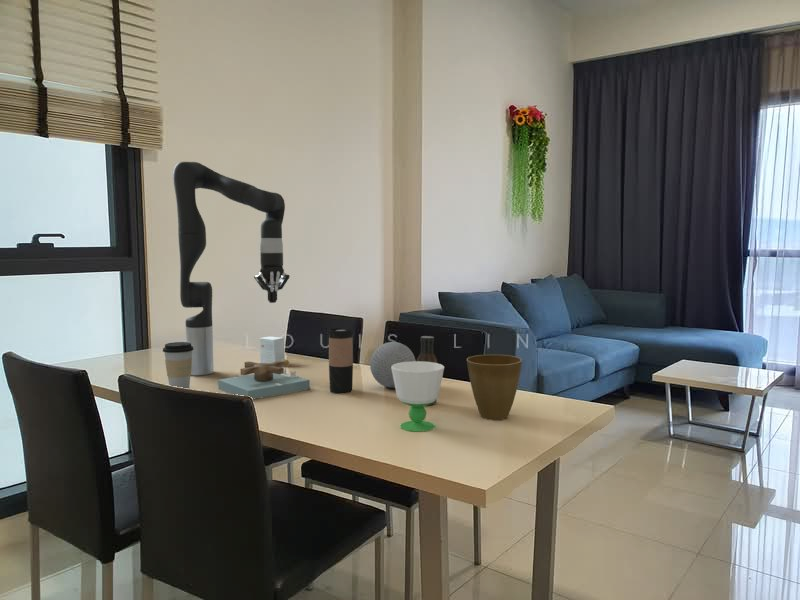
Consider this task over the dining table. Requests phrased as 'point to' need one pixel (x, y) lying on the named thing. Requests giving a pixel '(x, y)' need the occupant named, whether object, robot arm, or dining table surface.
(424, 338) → the sauce bottle
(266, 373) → the capstan
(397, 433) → the dining table surface
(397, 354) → the decorative ball
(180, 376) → the coffee cup
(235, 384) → the stand
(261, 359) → the small box
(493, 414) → the plant pot
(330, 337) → the travel mug
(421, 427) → the cup
